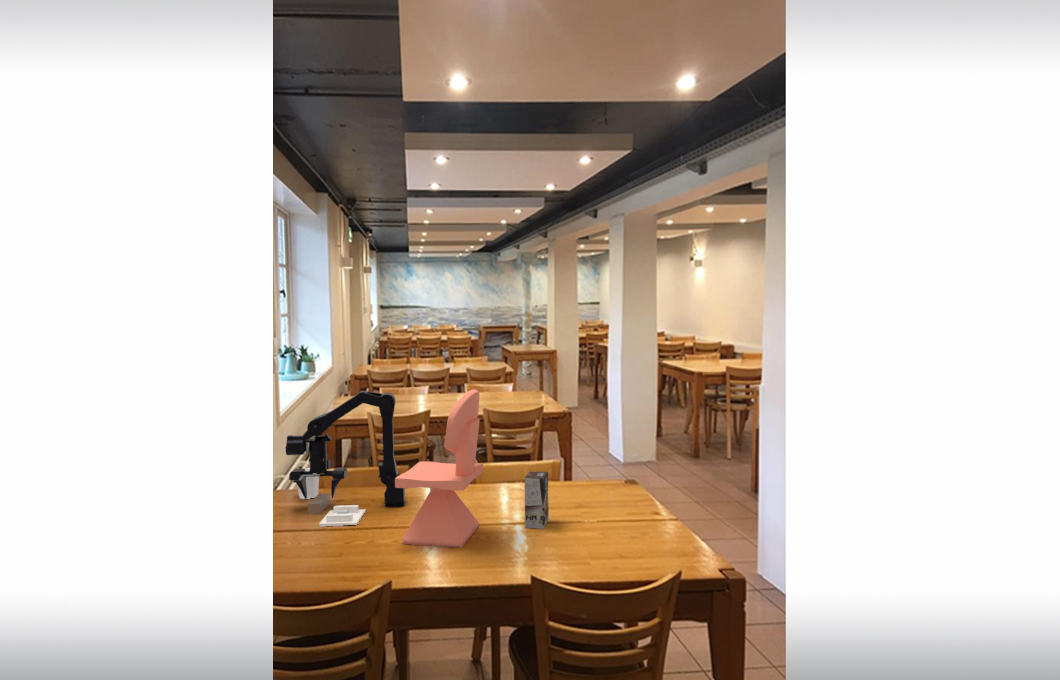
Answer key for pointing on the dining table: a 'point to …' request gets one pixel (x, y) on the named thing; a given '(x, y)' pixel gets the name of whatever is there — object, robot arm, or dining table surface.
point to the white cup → (310, 486)
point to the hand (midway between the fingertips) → (319, 498)
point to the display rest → (343, 516)
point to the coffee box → (536, 500)
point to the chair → (447, 482)
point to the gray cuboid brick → (318, 504)
